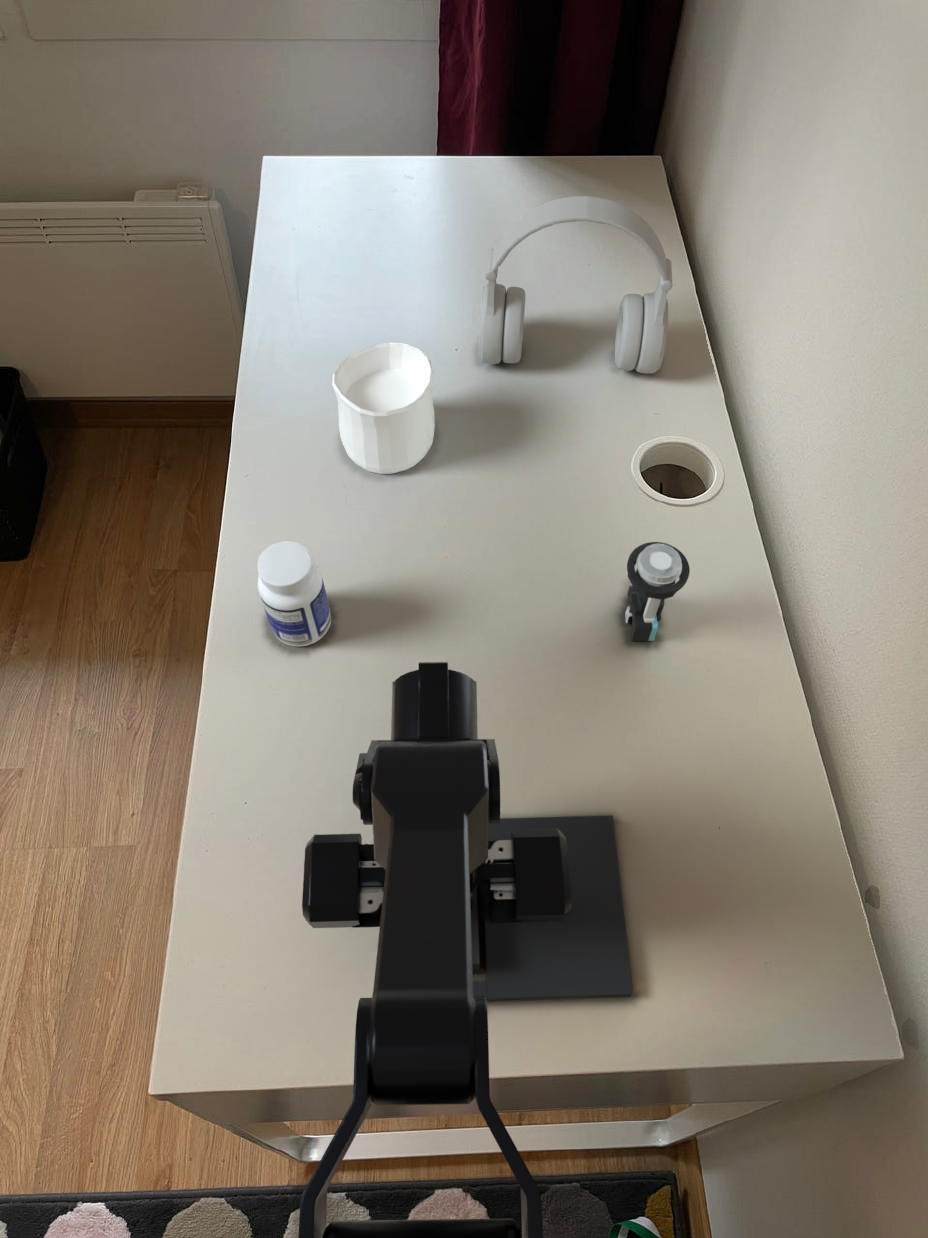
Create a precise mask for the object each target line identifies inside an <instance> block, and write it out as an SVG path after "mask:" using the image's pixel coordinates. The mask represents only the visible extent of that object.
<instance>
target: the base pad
mask: <svg viewBox="0 0 928 1238" xmlns="http://www.w3.org/2000/svg"><path fill="white" fill-rule="evenodd" d="M546 828H558V829H559V830H560V831H561V832H562V834H563V835H564V836H565V837H566V841H567V849H568V861H569V872H570V884H571V895H572V905H571V910H570V912H569V914H568V915H567V916H566V917H565V918H564V919H563V920H562V921H546V922H523V923H497V924H490V923H488V922H487V921H485V920H484V919H483V937H484V960H485V961H484V962H485V980H473V996H486V998H487V1002H515V1001H546V1000H547V1001H548V1000H549V1001H551V1000H577V999H578V1000H579V999H610V998H615V999H616V998H631V997H632V996H633V995H634V989H633V982H632V981H633V980H632V971H631V961H630V953H629V945H628V936H627V926H626V917H625V909H624V901H623V892H622V883H621V876H620V866H619V857H618V850H617V849H618V848H617V840H616V839H617V838H616V832H615V822H614V815H610V814H609V815H576V816H544V817H542V816H541V817H539V816H538V817H506V818H504V817H503V818H501V817H500V823H488V841H498V840H511V830H512V829H546ZM482 864H484V862H483V863H482Z"/></svg>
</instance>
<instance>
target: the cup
mask: <svg viewBox="0 0 928 1238" xmlns="http://www.w3.org/2000/svg"><path fill="white" fill-rule="evenodd" d="M433 379H434V369H433V365H432V361H431V359H430V358H429V357H428V356H427V355H426V354H425V353H424V352H423V351H422V350H420V348H418V347H415V346H412V345H410V344H407V343H406V342H405V343H404V342H393V341H389V342H384V343H378V344H373V345H372V346H369V347H366V348H363V349H361V350H359V351H357V352H355V353H353V354H352V355H349V356H348V357H346V358H345V359H344V360H342V361H341V362H340V363H339V364H337V367H336V368H335V370H334V372H333V374H332V380H331V381H332V388H333V390H334V393H335V396H336V399H337V406H338V430H339V434H340V435H339V436H340V441H341V443H342V445H343V447H344V450H345V452H346V454H347V456H348V457H349V458H350V459H351V460H352V461H353V462H354V463H355V464H356V465H357V466H359V467H361V468H363V469H364V470H365V471H368V472H370V473H374V474H378V475H391V474H393V475H394V474H396V473H400V472H404V471H408V470H409V469H411V468H413V467H415V466H416V465H417V464H418V463H419V462H420V461H422V460H423V459H424V458H425V457H426V455H427V454H428V452H429V450H430V449H431V448H432V445H433V441H434V436H435V429H436V426H435V424H436V422H435V421H436V420H435V419H436V418H435V408H434V401H433Z"/></svg>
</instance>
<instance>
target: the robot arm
mask: <svg viewBox="0 0 928 1238" xmlns="http://www.w3.org/2000/svg"><path fill="white" fill-rule="evenodd" d="M391 686H392V688H391V721H390V723H391V724H390V729H391V730H390V739H372V740H371V741H370V744H369V746H368V750H367V752H359V755H358V759H357V764H356V769H355V772H354V778H353V781H352V804H353V805H354V806H355V807H356V808H357V809H358V810H359V815H360V816H359V817H360V820H361V821H362V824H363V825H364V826H369V825H370V826H372V836H373V838H372V839H373V841H372V842H373V843H367V844H366V843H363V836H362V834H361V833H330V834H328V833H327V834H313V836H312V837H311V838H310V839H309V840H308V842H306V844H305V848H304V861H303V863H304V864H303V879H302V881H303V882H302V897H301V898H302V899H301V909H302V910H301V911H302V916H303V918H304V920H305V921H306V923H307V924H309V926H311V928H312V929H335V928H336V929H337V928H338V929H339V928H353V929H355V928H357V929H358V928H379V931H378V941H377V951H376V960H375V961H376V962H375V971H374V980H373V981H374V982H373V990H372V997H360V998H359V1000H358V1003H357V1010H356V1018H355V1019H356V1020H355V1030H354V1032H355V1034H354V1056H353V1086H352V1087H353V1089H352V1100H351V1104H350V1105H349V1107H348V1109H347V1111H346V1113H345V1115H344V1116H343V1118H342V1120H341V1122H340V1124H339V1126H338V1127H337V1129H336V1131H335V1133H334V1134H333V1137H332V1138H331V1140H330V1142H329V1144H328V1146H327V1147H326V1149H325V1151H324V1152H323V1155H322V1157H321V1158H320V1161H319V1163H318V1164H317V1166H316V1168H315V1169H314V1171H313V1172H312V1175H311V1177H310V1179H309V1181H308V1182H307V1184H306V1185H305V1188H304V1189H303V1192H302V1196H301V1199H300V1203H299V1217H298V1218H299V1219H298V1238H544V1233H543V1232H544V1231H543V1230H544V1229H543V1207H542V1206H543V1204H542V1198H541V1194H540V1190H539V1187H538V1185H537V1183H536V1182H535V1180H534V1178H533V1175H532V1173H531V1172H530V1170H529V1168H528V1166H527V1164H526V1163H525V1161H524V1158H522V1156H521V1153H520V1152H519V1150H518V1148H517V1146H516V1144H515V1142H514V1141H513V1139H512V1136H511V1134H510V1133H509V1132H508V1130H507V1128H506V1125H505V1124H504V1122H503V1120H502V1119H501V1117H500V1115H499V1113H498V1111H497V1109H496V1107H495V1106H494V1103H493V1102H492V1100H491V1095H490V1052H489V1051H490V1049H489V1044H490V1043H489V1017H488V1015H489V1013H488V1001H487V998H486V996H473V981H474V974H473V968H472V937H471V913H472V897H473V891H474V889H475V886H476V884H477V899H478V917H479V918H481V919H483V921H484V920H485V921H487V922H488V923H490V924H497V923H523V922H546V921H562V920H563V919H564V918H565V917H566V916H567V915H568V914H569V912H570V910H571V905H572V895H571V884H570V872H569V861H568V849H567V841H566V837H565V836H564V835H563V834H562V832H561V831H560V830H559V829H558V828H546V829H512V830H511V840H498V841H488V823H500V819H501V774H500V771H501V770H500V761H499V756H498V750H497V745H496V740H495V738H479V736H478V735H479V734H478V733H479V731H478V730H479V729H478V728H479V727H478V694H477V693H478V687H477V681H476V680H475V679H473V678H472V677H471V676H469V675H467V674H465V673H463V672H460V671H457V670H454V669H449V662H448V661H430V662H429V661H424V662H423V661H421V662H418V669H415V670H412V671H408V672H405V673H404V674H402V675H400V676H398V677H397V678H396V679H395V680H394V681H392V685H391ZM483 862H484V864H482V863H483ZM474 1100H475V1103H476V1106H477V1108H478V1110H479V1112H480V1114H481V1115H482V1118H483V1119H484V1121H485V1124H486V1125H487V1127H488V1129H489V1130H490V1132H491V1134H492V1136H493V1138H494V1140H495V1142H496V1143H497V1146H498V1147H499V1150H500V1151H501V1153H502V1155H503V1157H504V1159H505V1160H506V1162H507V1164H508V1166H509V1168H510V1170H511V1172H512V1173H513V1176H514V1178H515V1179H516V1181H517V1183H518V1185H519V1187H520V1210H521V1211H520V1213H521V1228H520V1225H519V1223H518V1222H517V1221H516V1220H515V1219H514V1218H510V1217H509V1218H444V1219H443V1218H440V1219H438V1218H436V1219H435V1218H433V1219H371V1220H370V1219H368V1220H367V1219H366V1220H365V1219H363V1220H362V1219H361V1220H355V1219H354V1220H332V1221H330V1223H329V1224H328V1225H327V1207H328V1205H327V1204H328V1190H329V1186H330V1184H331V1182H332V1180H333V1179H334V1177H335V1175H336V1173H337V1171H338V1169H339V1167H340V1166H341V1164H342V1163H343V1160H344V1159H345V1156H346V1154H347V1153H348V1151H349V1149H350V1147H351V1145H352V1143H353V1141H354V1139H355V1138H356V1136H357V1134H358V1133H359V1130H360V1128H361V1127H362V1125H363V1123H364V1121H365V1119H366V1117H367V1115H368V1113H369V1111H370V1110H371V1108H372V1106H373V1104H374V1105H375V1106H376V1107H377V1106H379V1107H380V1106H383V1107H384V1106H386V1107H387V1106H439V1105H440V1106H444V1105H446V1106H449V1105H451V1106H453V1105H470V1104H471V1103H472V1102H473V1101H474Z"/></svg>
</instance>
